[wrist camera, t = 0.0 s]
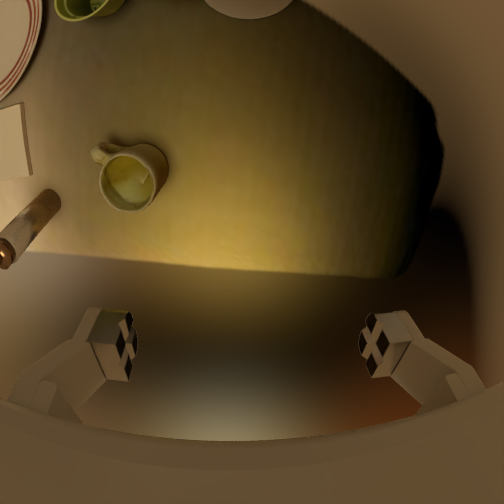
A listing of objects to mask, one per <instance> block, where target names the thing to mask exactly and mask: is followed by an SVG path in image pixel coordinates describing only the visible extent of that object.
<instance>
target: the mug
mask: <svg viewBox="0 0 504 504" xmlns="http://www.w3.org/2000/svg"><path fill="white" fill-rule="evenodd" d="M90 153H91V156H92V158H93V160H94V161H95V162H96V163H98V164H101V165H102V169H101V171H100V175H99V187H100V191H101V193H102V195H103V197H104V199H105V200H106V202H107V203H108V204H109V205H110V206H111V207H112V208H114V209H116V210H117V211H122V212H127V213H137V212H139V211H142V210H144V209H145V208H146V207H147V206H148V205H150V204H151V202H152V201H153V200H154V198H155V197H156V195H157V194H158V192H159V191H160V189H161V188H162V186H163V185H164V184H165V182H166V180H167V177H168V164H167V161H166V158H165V157H164V155H163V154H162V153H161V151H159V150H158V149H157V148H155V147H154V146H152V145H149V144H137V145H134V146H131V147H126V146H117V145H115V144H111V143H105V142H100V143H98V144H97V145H95V146H94V147H93V149H92V150H91V152H90Z"/></svg>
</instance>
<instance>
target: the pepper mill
mask: <svg viewBox="0 0 504 504" xmlns="http://www.w3.org/2000/svg"><path fill="white" fill-rule="evenodd" d="M60 207H61V200H60V198H59V196H58V194H57V193H56V192H55V191H53V190H51V189H46V190H44V191H43V192H41V193H40V194H39V195H38V196H37V197H36V198H35V199H34V200H33V201H32V202H30V203H29V204H28V205H27V206H26V207H25V208H24V209H23V210H22V211H21V212H20V213H19V214H18V215H17V216H16V217H15V218H14V219H13V220H12V221H11V222H10V223H9V224H8V225H7V226H6V227H5V228H4V229H3V230H2V231H1V233H0V268H1V269H8V268H9V266H10V265H11V264H13V263H15V262H16V261H17V260H18V259H19V257H20V256H21V255H22V253H23V252H24V251H25V250H26V248H27V247H28V246H29V245H30V243H31V242H32V241H33V240H34V238H35V237H36V236H37V235H38V234H39V233H40V231H41V230H42V229H43V228H44V227H45V226H46V224H47V223H48V222H49V221H50V220H51V219H52V218H53V216H54V215H55V214H56V213H57V212H58V211H59V210H60Z"/></svg>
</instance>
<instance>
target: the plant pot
mask: <svg viewBox="0 0 504 504" xmlns="http://www.w3.org/2000/svg"><path fill="white" fill-rule="evenodd" d="M124 1H125V0H55V1H54V5H55V10H56V12H57V14H58V15H59V16H60V17H61V18H63V19H64V20H67V21H81V20H84V19H87V18H89V17H92V16H107V15H110V14H113V13H114V12H116V11H117V10H118V9H119V8H120V7H121V6H122V5H123V3H124ZM95 7H96V8H97V10H95Z"/></svg>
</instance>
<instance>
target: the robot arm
mask: <svg viewBox="0 0 504 504" xmlns="http://www.w3.org/2000/svg"><path fill="white" fill-rule="evenodd" d="M292 1H293V0H205V2H206V3H207V4H208V5H209V6H211V7H212V8H213V9H215V10H216V11H218V12H220V13H222V14H224V15H227V16H230V17H234V18H239V19H258V18H264V17H267V16H271V15H273V14H275V13H277V12H279V11H281V10H283V9H284V8H285V7H286V6H288V5H289V4H290V3H291V2H292ZM132 323H133V318H132V313H131V312H129V311H121V310H112V309H100V308H92V307H91V308H89V309H88V310H87V311H86V313H85V315H84V317H83V319H82V321H81V323H80V325H79V327H78V329H77V331H76V333H75V335H74V337H73V339H72V340H69V339H68V340H67V341H65V342H64V343H62V344H61V345H59V346H58V347H57V348H55V349H54V350H52V351H51V352H49V353H48V354H46V355H45V356H43V357H42V358H40V359H39V360H38V361H36V362H35V363H33V364H32V365H30V366H29V367H28V368H26V369H25V370H23V371H22V372H20V375H19V377H18V379H17V381H16V383H15V385H14V388H13V389H12V391H11V394H10V396H9V398H8V400H5V399H2V398H0V504H504V382H501V383H499V384H497V385H495V386H493V387H491V388H489V389H485V387H484V386H483V383H482V382H481V380H480V378H479V377H478V375H477V374H476V372H475V370H474V369H473V367H472V366H470V365H469V364H467V363H465V362H464V361H462V360H461V359H459V358H458V357H456V356H455V355H453V354H451V353H450V352H448V351H447V350H445V349H443V348H442V347H440V346H439V345H437V344H435V343H434V342H432V341H431V340H429V339H425V338H424V337H423V335H422V334H421V332H420V330H419V329H418V327H417V326H416V324H415V323H414V321H413V320H412V318H411V317H410V315H409V314H408V312H406V311H394V312H383V313H370V314H369V315H368V316H367V318H366V321H365V323H366V325H367V327H365V328H364V329H363V330H362V331H361V333H360V336H359V349H360V352H361V355H362V356H363V357H365V358H366V359H367V362H366V367H367V369H368V371H369V374H370V376H371V378H375V377H384V376H390V375H391V377H392V378H393V379H394V380H395V381H396V382H397V383H398V384H399V385H401V386H402V387H403V388H404V389H405V390H406V391H407V392H408V393H409V394H411V395H412V396H413V397H414V398H415V399H416V400H417V401H418V402H419V403H420V404H421V405H423V406H422V407H421V408H420V410H419V411H418V412H417V413H416V415H414V416H411V417H407V418H404V419H400V420H396V421H392V422H388V423H384V424H380V425H375V426H371V427H366V428H361V429H356V430H350V431H345V432H339V433H332V434H325V435H318V436H310V437H301V438H291V439H278V440H260V441H202V440H201V441H199V440H184V439H172V438H162V437H152V436H145V435H137V434H130V433H124V432H118V431H113V430H108V429H103V428H98V427H93V426H88V425H84V424H83V422H82V421H81V420H80V418H79V417H78V416H77V414H76V413H75V411H76V410H77V409H78V408H79V407H80V406H81V405H82V404H83V403H84V402H85V401H86V400H87V399H88V398H89V397H90V396H91V395H92V394H93V393H94V392H95V391H96V390H97V389H98V388H99V387H100V386H101V385H102V384H103V383H104V382H105V381H106V379H111V380H120V381H129V379H130V375H131V371H132V367H133V366H132V362H131V359H133V358H134V357H135V355H136V352H137V343H138V340H137V333H136V330H135V329H134V328H133V327H132Z"/></svg>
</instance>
